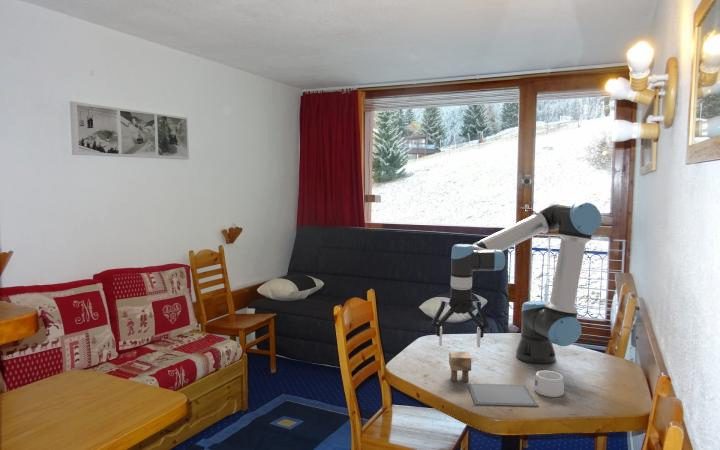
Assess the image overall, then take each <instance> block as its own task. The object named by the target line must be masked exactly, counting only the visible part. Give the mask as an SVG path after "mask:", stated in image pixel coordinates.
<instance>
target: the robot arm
mask: <svg viewBox="0 0 720 450" xmlns="http://www.w3.org/2000/svg"><path fill="white" fill-rule="evenodd" d="M601 225H602V215H601V211H600V210H599V209H598V207H597V206H596V205H595V204H593V203H591V202H588V201H584V200H583V201H582V200H578V201H577V200H565V199H564V200H558V201H554V202H552V203H550V204H548V205H545V206H543V207H541V208H539V209H537V210H535V211H533V212H532V214H531V215H530V216H528V217H526V218H524V219H522V220H520V221H518V222H516V223H514V224H512V225H509V226H508V227H507V226H506V228H503V229H502V230H500V231H497V232H495V233H493V234H491V235H489V236H487V237H485V238H482V239H480V240H479V241H476V242H474V243H471V244H470V243H464V244H463V243H457V244H456V243H455V244H454V245H453V246H452V247H451V254H450V255H451V256H450V259H451V260H450V261H451V262H450V265H451V267H450V270H451V271H450V290H449V291H450V294H449V295H450V296H449V300H444V299H442V300H440V305H439V307H438V310H437V311H436V313H435V315H434V317H433V318H432V320H431V326H433V327H435V329H436V330H435V335H436V337H438V346H440V347H442V345H443V325H444V324H445V323H446V322H447V321H448V320H449V318H450V317H451V316H452V315H454V313H455V314H457V315H458V314H462V315H465V314H468V315H469V316H470V317H471V319H472V320H473V321H474V322H475V324H476V325H477V326H478V327H476V346H477V348H481V339H482V338H483V337H484V330H485V329H486V328H489V327H490V325H489V323H488V321H487V318H486V316H485V314H484V312H483V309H482V306H481V302H480V300H476V301H472V297H473V296H472V294H473V293H472V291H473V290H472V287H473V272H478V271H479V272H482V271H484V272H490V271H493V272H495V271H501V270H503V269H505V268H504V267H505V266H506V256H505V253H504V251H505V250H508V249H510V248H512V247H513V246H514V247H515V246H517V245H518V244H520V243H522V242H525V241H526V240H529V239H531V238H533V237H535V236H537V235H539V234H547V233H550V232H553V231H557V235H558V237H559V239H560V244H559V251H558V257H557V262H556V267H555V272H554V277H553V278H554V279H553V284H552V289H551V293H550V300H549V301H543V300H542V301H541V300H539V301H538V300H536V301H535V300H533V301H532V300H530V301H525V302H523V304H522V305H521V311H520V312H521V321H520V322H521V328H520V329H521V331H520V333H521V335H520V340H519V342H518V345H517V347H516V349H515V350H516V351H515V357H516V358H517V359H518V360H521V361H523V362H526V363H531V364H535V365H536V364H537V365H538V364H539V365H545V364H547V365H548V364H552V363H554V362H555V361H556V351H555V347H554V345H556V346H559V347H568V346H571V345H573V344H574V343H576V342H577V341H578V340H579V338H580V336H581V334H582V326H581V325H582V324H581V323H580V321H579V320H578V319H577V318H578V310H577V308H575V305H576V304H575V303H576V300H577V294H578V293H577V292H578V288H579V282H580V275H581V272H582V266H583V260H584V254H585V250H586V249H585V248H586V244H587V243H589V242H591V240H592V236H593V234H595V233H596V232H597V231H598V230H599V229H600V227H601ZM447 306H449V307H450V308H449V309H448V310H447V311H446V313H445V314H444V315H443V316H442V317H441V315H442V314H443V312H444V310H445V308H447ZM473 306H474V308H476V309H477V312H478V314H479V316H480V318H481V320H482V322H483V323H482V322H481V321H480V320H479V319H478V317H477V316H476V315H475V314H474V312H472V310H471V308H473ZM440 317H441V318H440Z"/></svg>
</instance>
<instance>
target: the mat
mask: <svg viewBox="0 0 720 450" xmlns="http://www.w3.org/2000/svg"><path fill="white" fill-rule="evenodd" d="M466 384H467V387H468V390H469V393H470V395H471V398H472V401H473V404H474V405H475V406H491V407H493V406H494V407H500V406H502V407H531V408H533V407H534V408H537V407H538V408H539V404H538V402H537V401H536V399H535V398H534V396H533V395H532V393H531V392H530V391H529V389H528V387H527V386H526V385H525V384H499V383H498V384H497V383H495V384H493V383H491V384H490V383H466Z"/></svg>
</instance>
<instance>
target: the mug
mask: <svg viewBox="0 0 720 450" xmlns="http://www.w3.org/2000/svg"><path fill="white" fill-rule="evenodd" d="M533 389H534V391H535V392H536V393H537V394H538V395H541V396H545V397H549V398H558V397H562V396H563V395H564V394H565V385H564V376H563V375H562V374H561V373H559V372H557V371H553V370H538V371H537V372H536V373H535V378H534V385H533Z"/></svg>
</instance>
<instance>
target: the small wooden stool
mask: <svg viewBox="0 0 720 450" xmlns="http://www.w3.org/2000/svg"><path fill="white" fill-rule="evenodd" d="M448 364H449V367H450V371H451V372H450V376H451V378H452V382H453V383H457V382H458V372H459V371H461V377H462V378H463V382H464V383H469V372H472V357H471V354H470V352H469V351H454V350H452V351H449V352H448Z"/></svg>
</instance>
